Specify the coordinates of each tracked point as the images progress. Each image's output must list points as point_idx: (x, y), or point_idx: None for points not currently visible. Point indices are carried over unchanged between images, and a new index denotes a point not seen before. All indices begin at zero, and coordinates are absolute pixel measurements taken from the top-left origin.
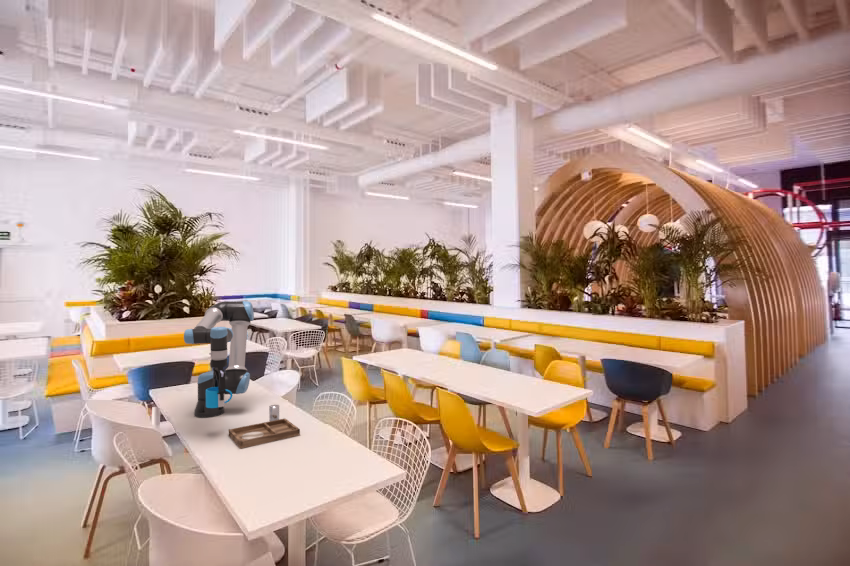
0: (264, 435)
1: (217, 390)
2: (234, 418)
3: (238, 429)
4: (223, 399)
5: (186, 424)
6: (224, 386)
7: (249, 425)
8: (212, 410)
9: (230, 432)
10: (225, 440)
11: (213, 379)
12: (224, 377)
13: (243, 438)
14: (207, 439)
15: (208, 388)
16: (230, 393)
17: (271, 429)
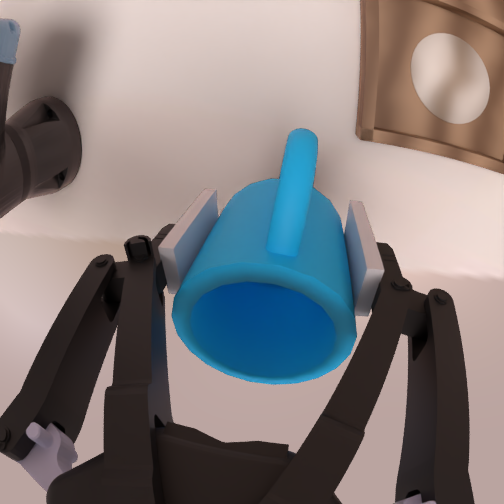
0: (475, 47)
1: (341, 340)
2: (131, 59)
3: (375, 97)
4: (389, 248)
5: (124, 224)
6: (457, 356)
7: (368, 41)
8: (62, 144)
9: (393, 144)
10: (401, 166)
11: (97, 359)
12: (462, 468)
13: (460, 122)
14: (339, 212)
15: (204, 357)
16: (315, 161)
17: (478, 15)
